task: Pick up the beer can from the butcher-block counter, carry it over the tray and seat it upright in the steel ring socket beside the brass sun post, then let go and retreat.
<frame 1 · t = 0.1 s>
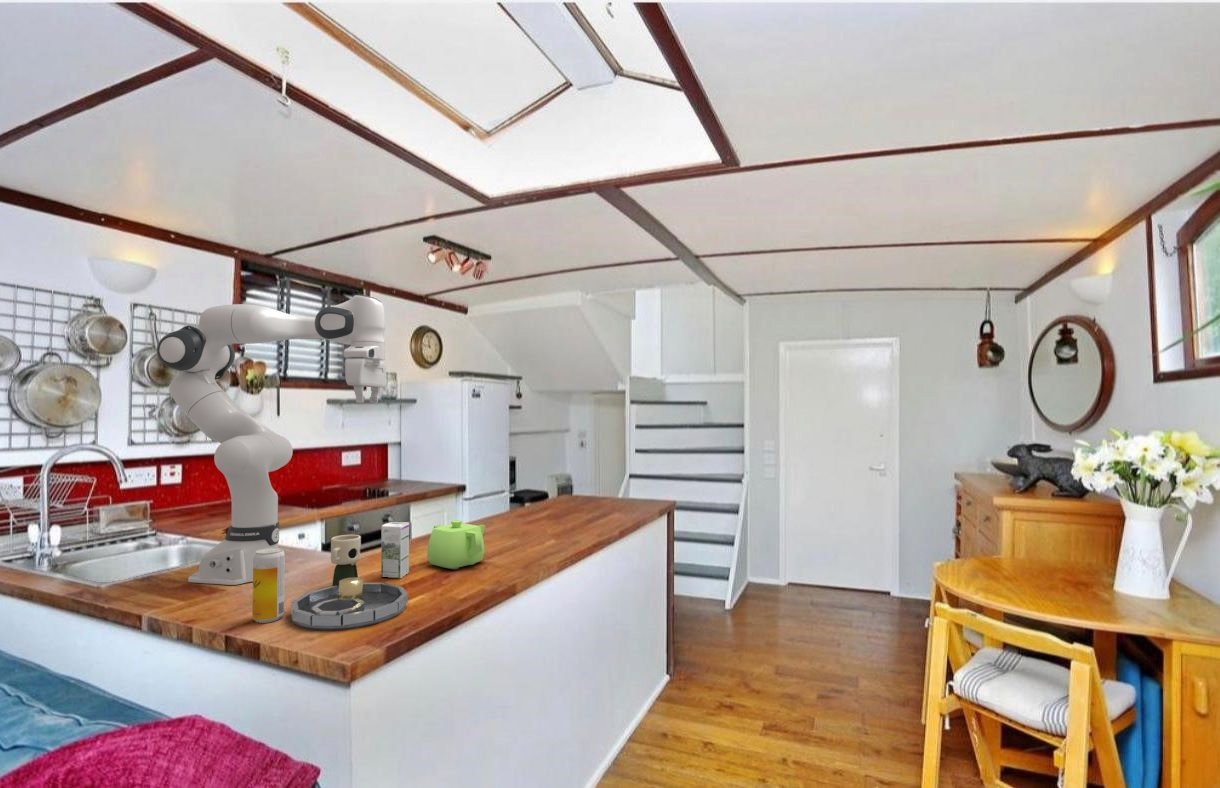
hand: (367, 403, 167), 48 cm above the worktop, fingers open, 8 cm apart
teapot: (461, 563, 181), on the worktop
beer can: (268, 619, 132), on the worktop
character mug: (345, 588, 155), on the worktop
tray: (350, 611, 137), on the worktop
syrup box: (395, 576, 166), on the worktop
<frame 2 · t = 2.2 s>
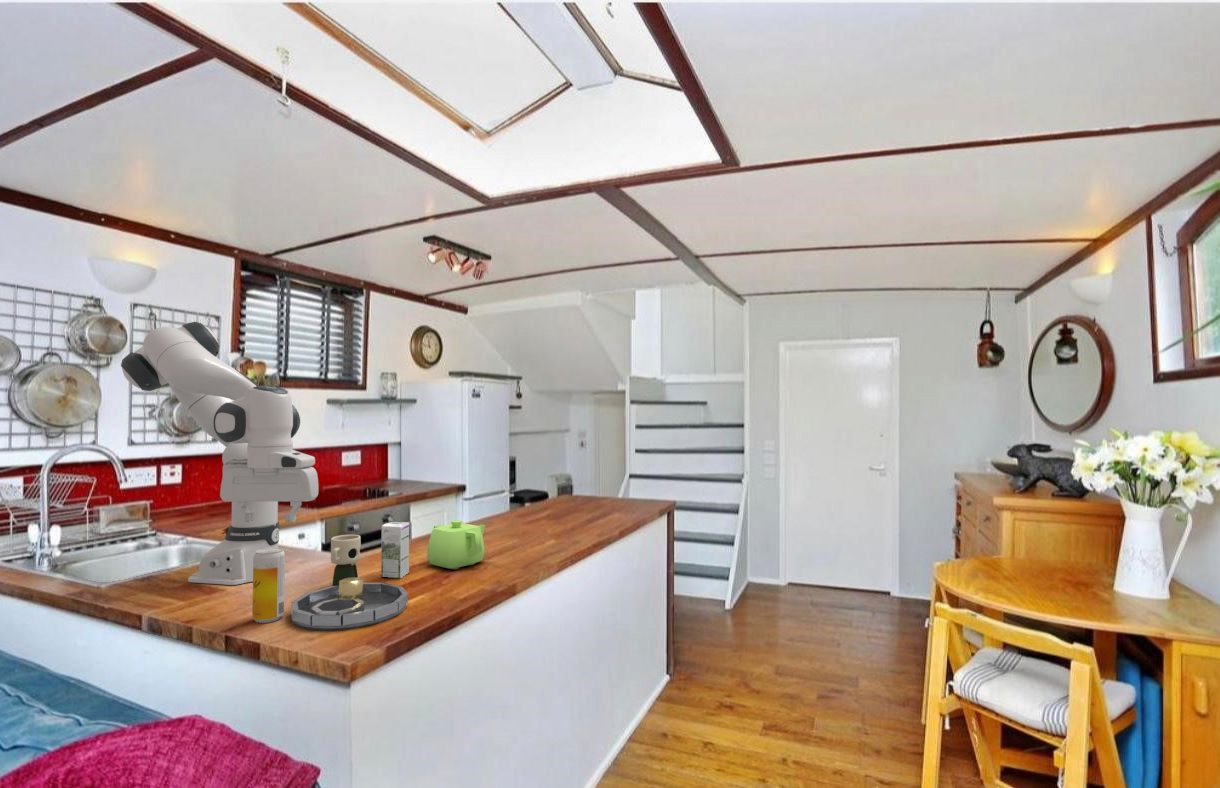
hand: (269, 521, 133), 21 cm above the worktop, fingers open, 8 cm apart
nothing on the worktop moved.
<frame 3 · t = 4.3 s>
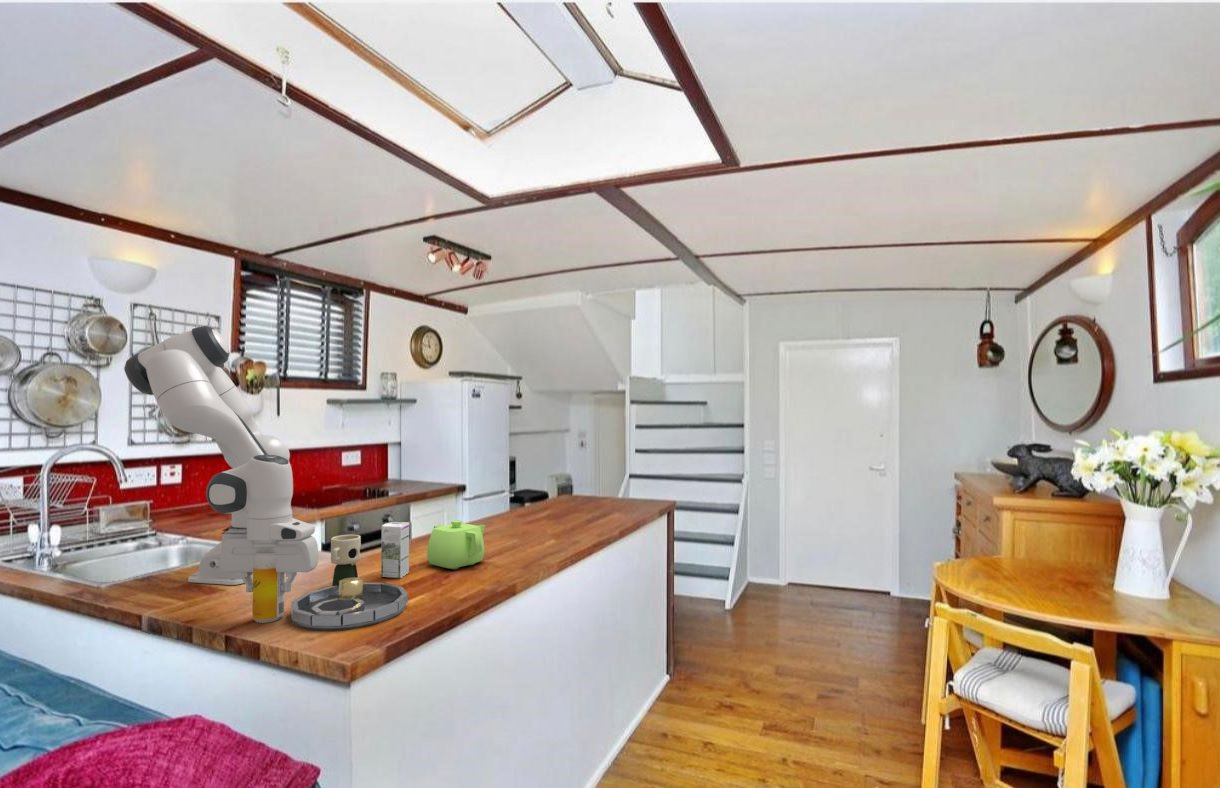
hand: (268, 591, 132), 6 cm above the worktop, fingers closed on beer can, 6 cm apart
beer can: (268, 619, 132), on the worktop, touching gripper
everything else where it was.
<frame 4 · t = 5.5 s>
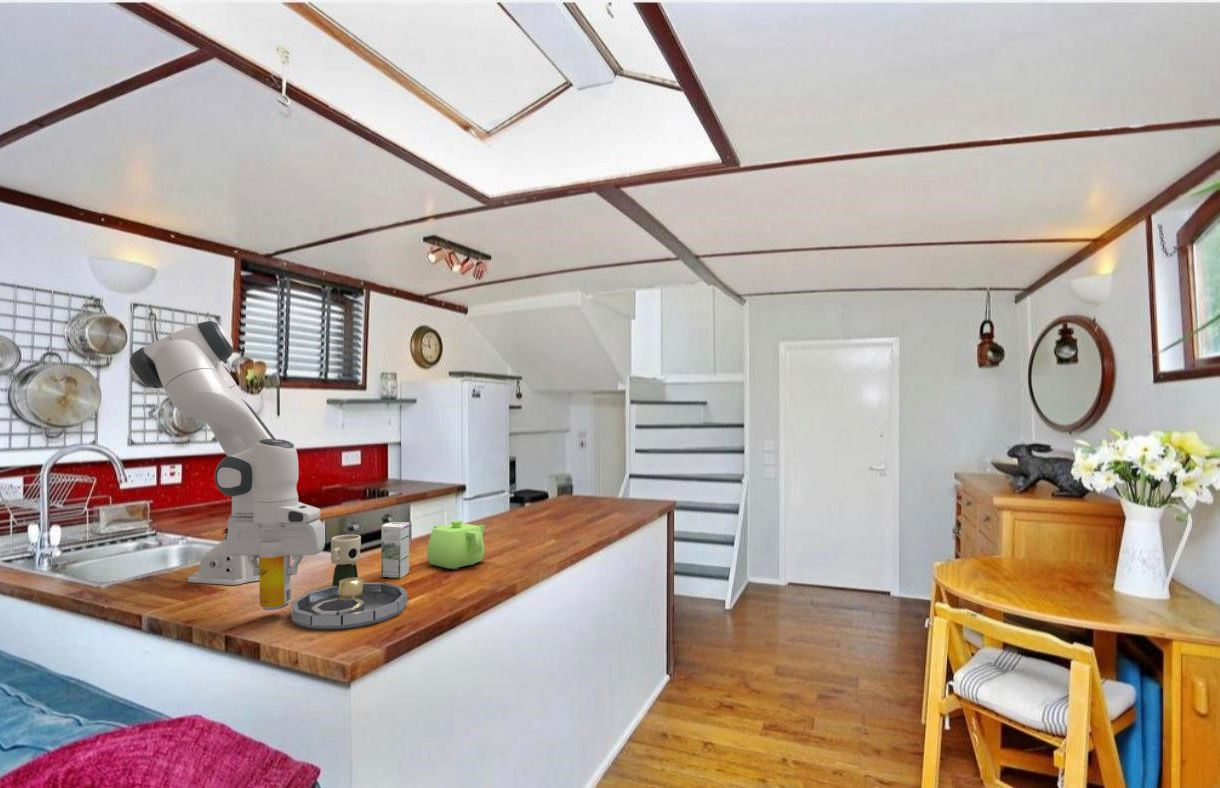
hand: (275, 574, 133), 9 cm above the worktop, fingers closed on beer can, 6 cm apart
beer can: (275, 606, 133), point 2 cm above the worktop, touching gripper
everything else where it was.
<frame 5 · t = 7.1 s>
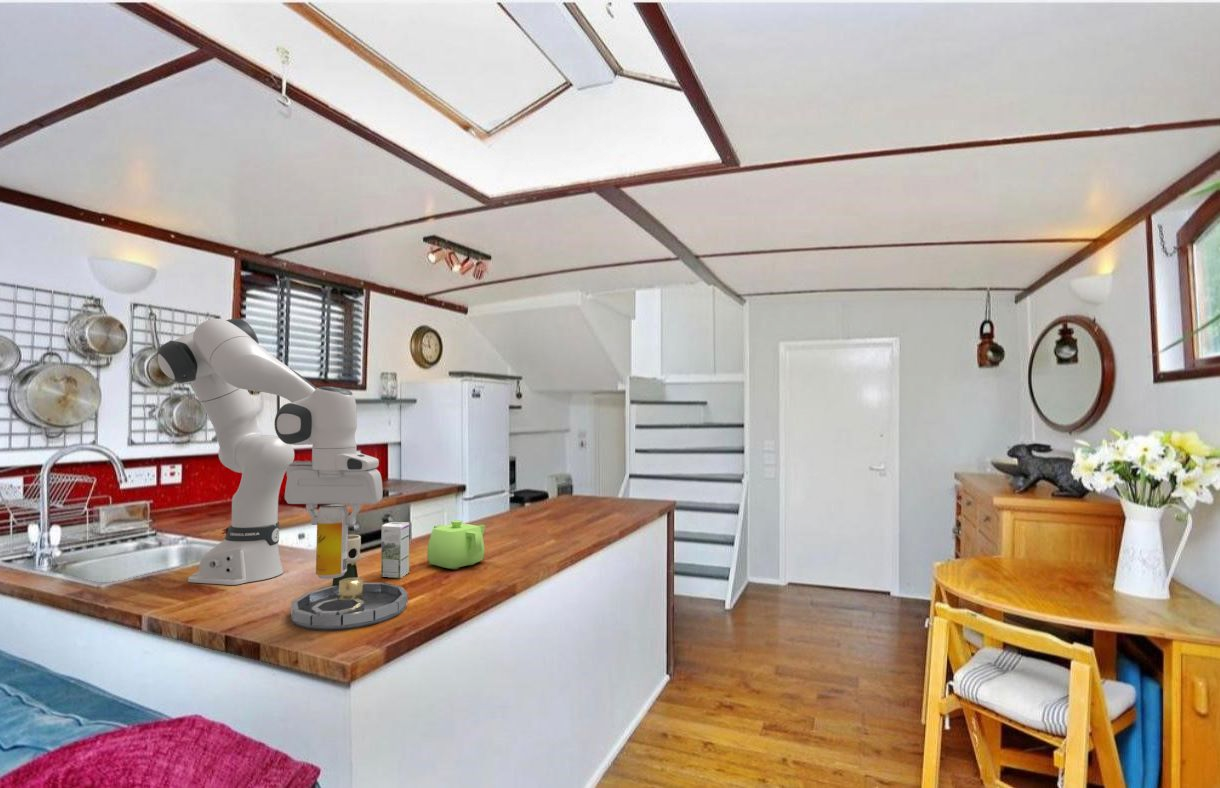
hand: (333, 524, 131), 21 cm above the worktop, fingers closed on beer can, 6 cm apart
beer can: (331, 576, 130), point 10 cm above the worktop, touching gripper
everything else where it was.
when the fingers open (8 cm above the worktop, at t = 9.4 s): beer can stays where it is, resting on tray.
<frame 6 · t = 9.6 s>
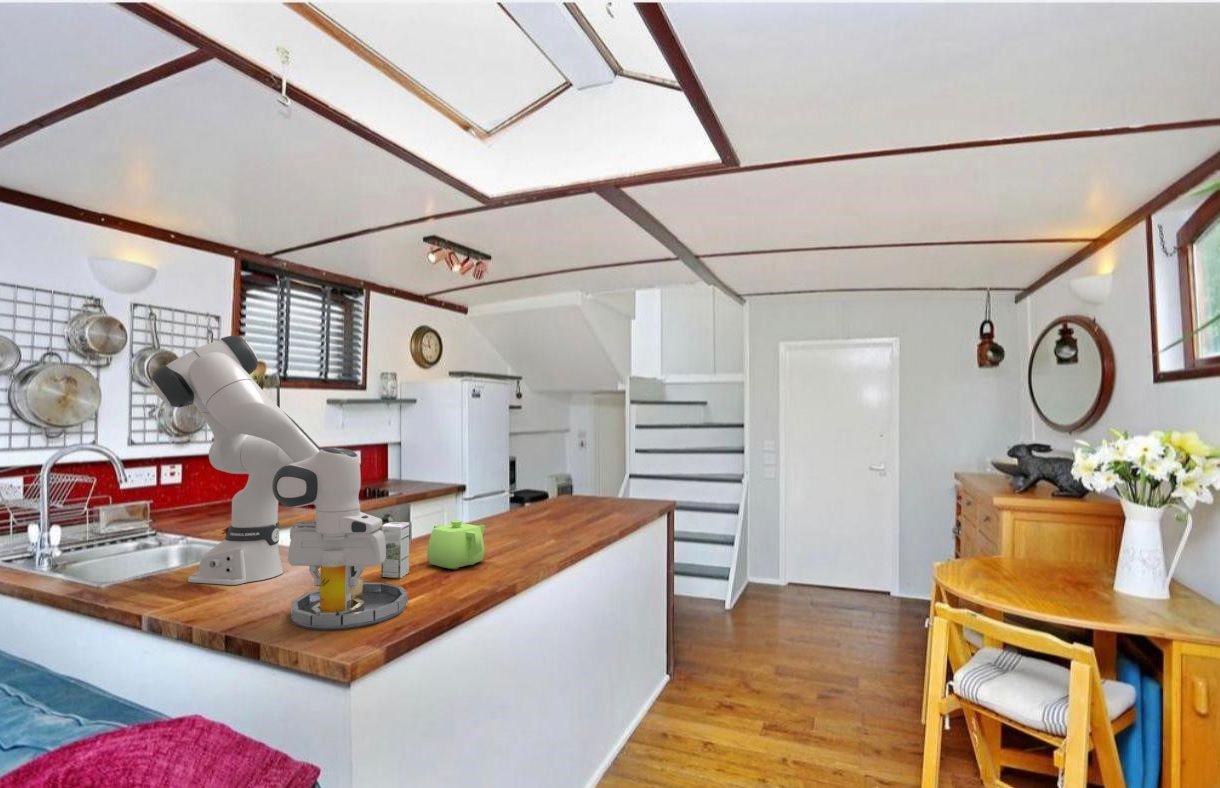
hand: (336, 585, 131), 8 cm above the worktop, fingers open, 6 cm apart
beer can: (335, 618, 130), point 1 cm above the worktop, touching tray, gripper
everything else where it was.
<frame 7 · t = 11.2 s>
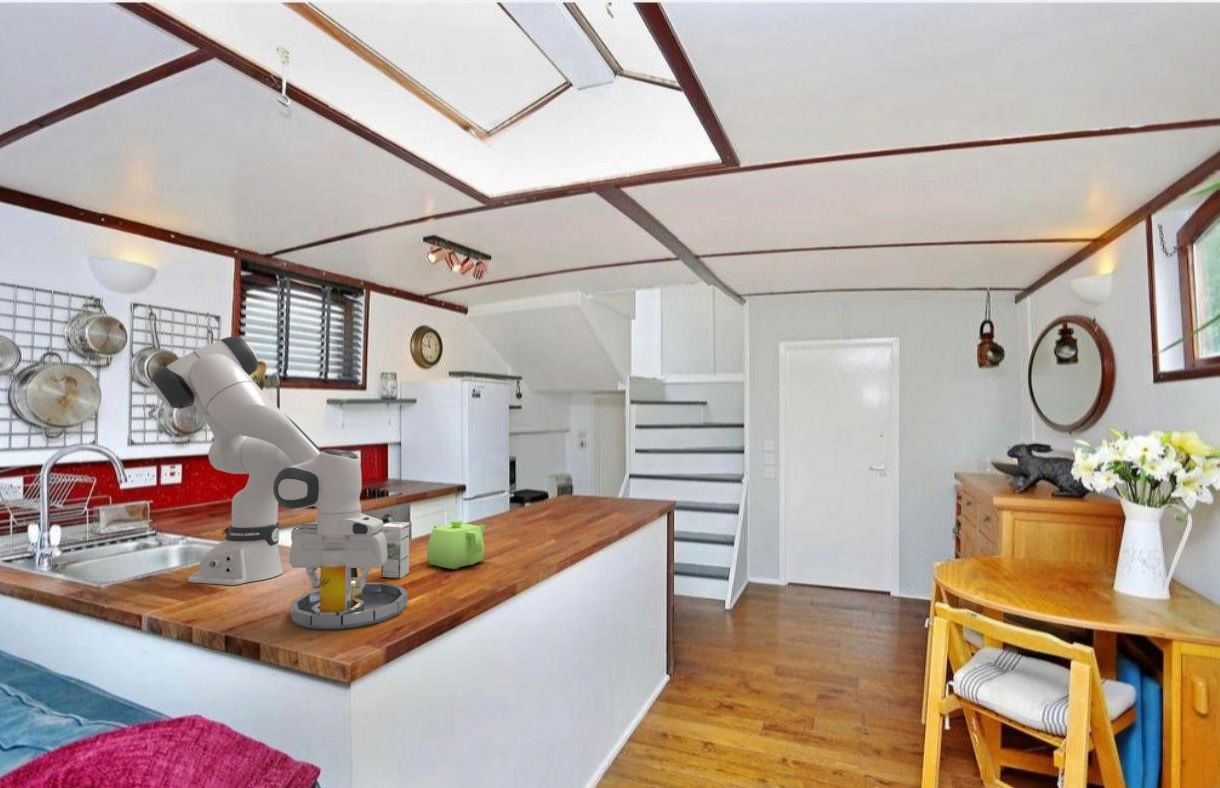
hand: (338, 587, 131), 7 cm above the worktop, fingers open, 8 cm apart
beer can: (335, 618, 130), point 1 cm above the worktop, touching tray
everything else where it was.
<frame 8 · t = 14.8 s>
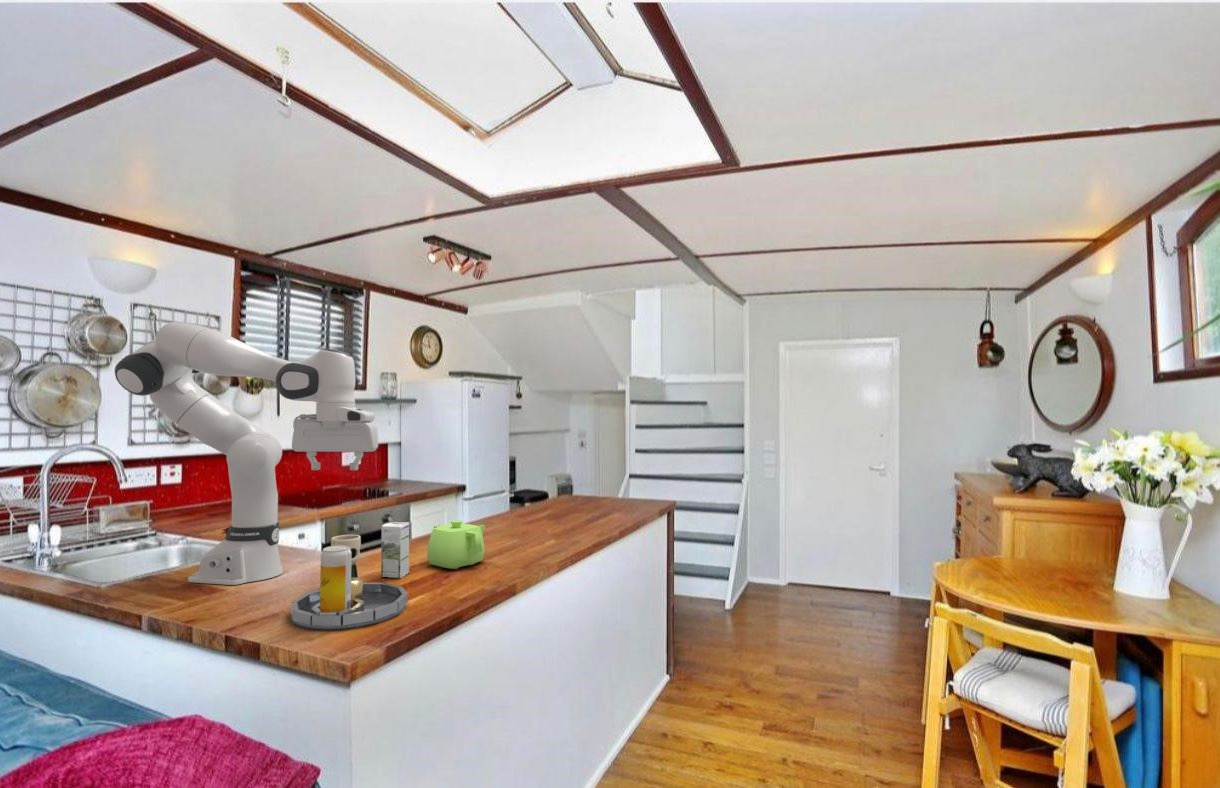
hand: (335, 469, 149), 31 cm above the worktop, fingers open, 8 cm apart
nothing on the worktop moved.
at the end: beer can 0.7 cm from the target spot on the tray, point 0.8 cm above the tray's base; beer can tilted 0°; the gripper is holding nothing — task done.
